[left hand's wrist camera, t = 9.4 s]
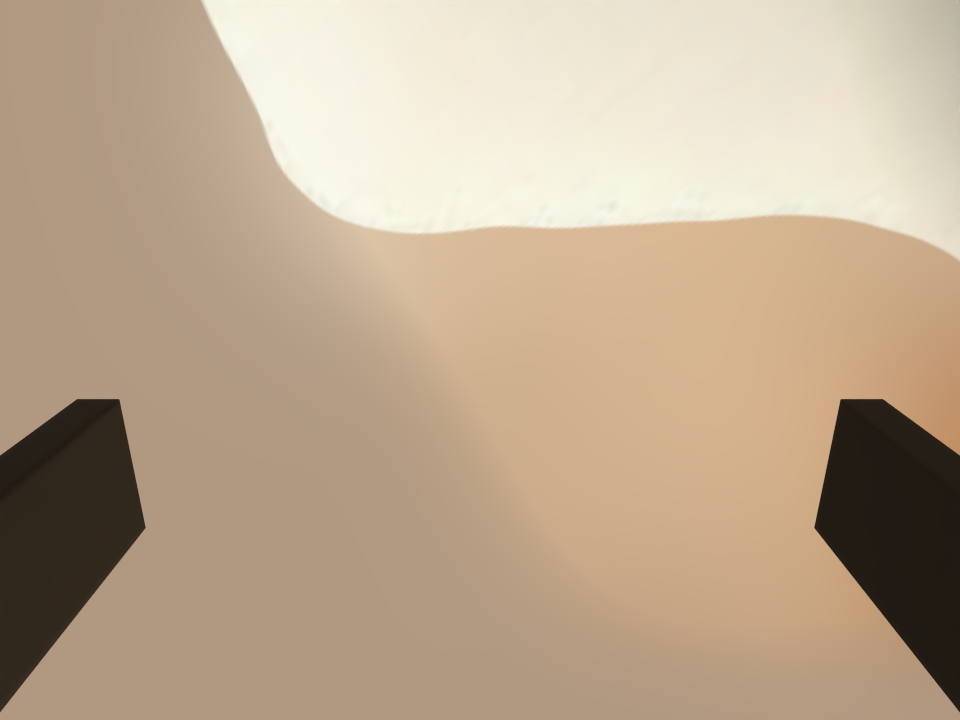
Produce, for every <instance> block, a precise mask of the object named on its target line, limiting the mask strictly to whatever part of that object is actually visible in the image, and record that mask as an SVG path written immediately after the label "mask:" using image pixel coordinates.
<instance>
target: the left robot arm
mask: <svg viewBox="0 0 960 720" xmlns="http://www.w3.org/2000/svg"><path fill="white" fill-rule="evenodd" d="M144 529H145V523H144V518H143V513H142V508H141V503H140V498H139V493H138V488H137V483H136V479H135V474H134V469H133V464H132V459H131V454H130V449H129V445H128V440H127V435H126V430H125V425H124V420H123V415H122V410H121V405H120V401H119V399H77V400H75V401H74V402H73V403H71V404H70V405H69V406H67V407H66V408H65V409H63V410H62V411H60V412H59V413H58V414H56V415H55V416H54V417H52V418H51V419H50V420H48V421H47V422H45V423H44V424H43V425H41V426H40V427H39V428H37V429H36V430H35V431H33V432H32V433H30V434H29V435H28V436H26V437H25V438H24V439H22V440H21V441H20V442H18V443H17V444H15V445H14V446H13V447H11V448H10V449H9V450H7V451H6V452H5V453H3V454H2V455H0V712H1V710H2V709H3V708H4V707H5V705H6V704H7V703H8V702H9V700H10V699H11V698H12V696H13V695H14V694H15V693H16V691H17V690H18V689H19V688H20V686H21V685H22V684H23V683H24V681H25V680H26V679H27V677H28V676H29V675H30V674H31V672H32V671H33V670H34V669H35V667H36V666H37V665H38V664H39V662H40V661H41V660H42V658H43V657H44V656H45V655H46V653H47V652H48V651H49V650H50V648H51V647H52V646H53V645H54V643H55V642H56V641H57V639H58V638H59V637H60V636H61V634H62V633H63V632H64V631H65V629H66V628H67V627H68V625H69V624H70V623H71V622H72V620H73V619H74V618H75V617H76V615H77V614H78V613H79V612H80V610H81V609H82V608H83V606H84V605H85V604H86V603H87V601H88V600H89V599H90V598H91V596H92V595H93V594H94V593H95V591H96V590H97V589H98V587H99V586H100V585H101V584H102V582H103V581H104V580H105V579H106V577H107V576H108V575H109V574H110V572H111V571H112V570H113V569H114V567H115V566H116V565H117V563H118V562H119V561H120V560H121V558H122V557H123V556H124V555H125V553H126V552H127V551H128V550H129V548H130V547H131V546H132V544H133V543H134V542H135V541H136V539H137V538H138V537H139V536H140V534H141V533H142V532H143V530H144ZM815 529H816V530H817V532H818V533H819V534H820V536H821V537H822V538H823V539H824V541H825V542H826V543H827V544H828V546H829V547H830V548H831V549H832V551H833V552H834V553H835V555H836V556H837V557H838V558H839V560H840V561H841V562H842V563H843V565H844V566H845V567H846V569H847V570H848V571H849V572H850V574H851V575H852V576H853V577H854V579H855V580H856V581H857V582H858V584H859V585H860V586H861V587H862V589H863V590H864V591H865V593H866V594H867V595H868V596H869V598H870V599H871V600H872V601H873V603H874V604H875V605H876V607H877V608H878V609H879V610H880V612H881V613H882V614H883V615H884V617H885V618H886V619H887V620H888V622H889V623H890V624H891V626H892V627H893V628H894V629H895V631H896V632H897V633H898V634H899V636H900V637H901V638H902V639H903V641H904V642H905V643H906V645H907V646H908V647H909V648H910V650H911V651H912V652H913V653H914V655H915V656H916V657H917V658H918V660H919V661H920V662H921V664H922V665H923V666H924V667H925V669H926V670H927V671H928V672H929V674H930V675H931V676H932V677H933V679H934V680H935V681H936V683H937V684H938V685H939V686H940V688H941V689H942V690H943V691H944V693H945V694H946V695H947V697H948V698H949V699H950V700H951V701H952V703H953V704H954V705H955V707H956V708H957V709H958V710H959V712H960V455H958V454H957V453H956V452H954V451H953V450H951V449H950V448H949V447H947V446H946V445H945V444H943V443H942V442H940V441H939V440H938V439H936V438H935V437H934V436H932V435H931V434H929V433H928V432H927V431H925V430H924V429H923V428H921V427H920V426H919V425H917V424H916V423H914V422H913V421H912V420H910V419H909V418H908V417H906V416H905V415H904V414H902V413H901V412H900V411H898V410H897V409H895V408H894V407H893V406H891V405H890V404H889V403H887V402H886V401H885V400H883V399H841V401H840V405H839V410H838V415H837V420H836V425H835V430H834V435H833V440H832V444H831V449H830V454H829V459H828V464H827V469H826V474H825V479H824V484H823V488H822V493H821V498H820V503H819V508H818V513H817V518H816V523H815Z"/></svg>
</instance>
